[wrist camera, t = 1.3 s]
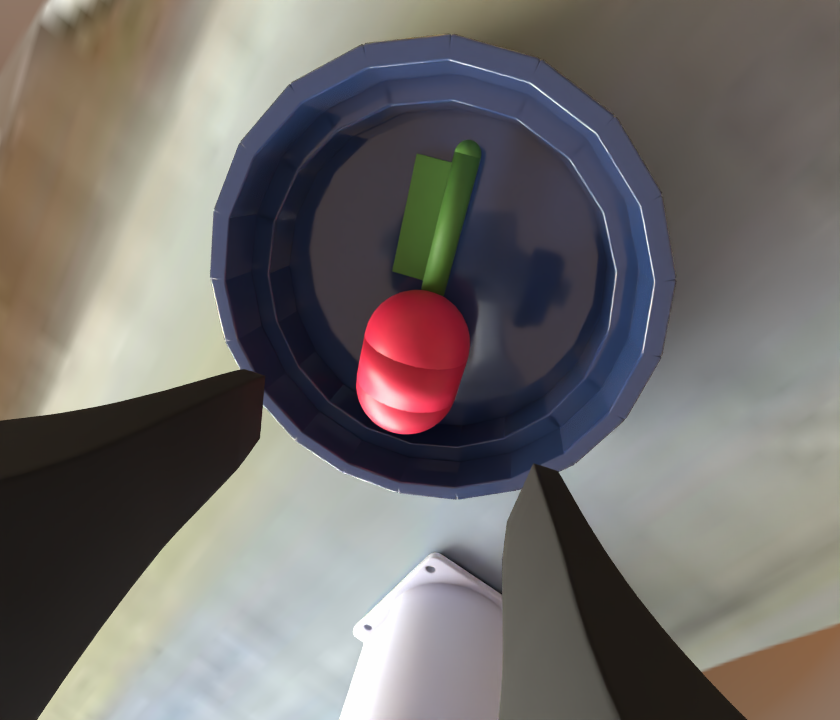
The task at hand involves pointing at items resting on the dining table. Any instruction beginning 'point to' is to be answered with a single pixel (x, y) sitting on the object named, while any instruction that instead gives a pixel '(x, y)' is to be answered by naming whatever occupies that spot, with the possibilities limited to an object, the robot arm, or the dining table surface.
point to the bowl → (472, 266)
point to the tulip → (421, 305)
